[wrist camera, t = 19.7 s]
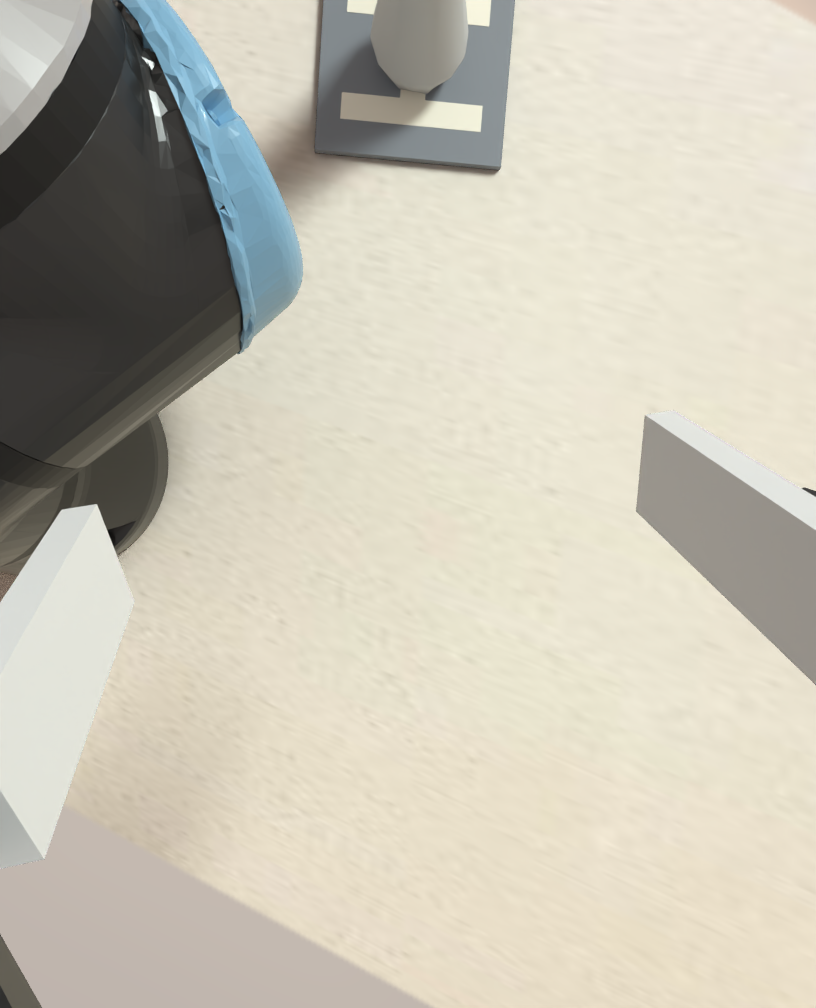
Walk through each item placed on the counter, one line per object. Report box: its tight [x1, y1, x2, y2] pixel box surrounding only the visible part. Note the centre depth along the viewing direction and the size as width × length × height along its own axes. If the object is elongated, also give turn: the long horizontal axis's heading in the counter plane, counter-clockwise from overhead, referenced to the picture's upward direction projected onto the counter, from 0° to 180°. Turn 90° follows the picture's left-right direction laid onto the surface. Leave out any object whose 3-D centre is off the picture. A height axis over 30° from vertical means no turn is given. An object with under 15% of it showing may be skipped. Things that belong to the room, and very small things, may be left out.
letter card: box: [315, 0, 515, 170], centre depth 40 cm, size 12×12×1 cm
